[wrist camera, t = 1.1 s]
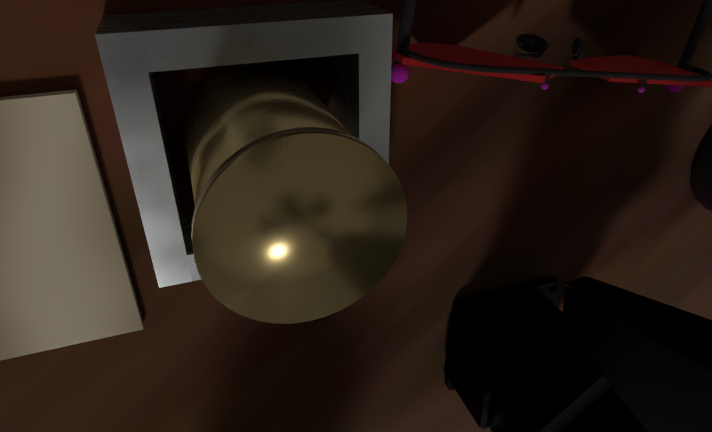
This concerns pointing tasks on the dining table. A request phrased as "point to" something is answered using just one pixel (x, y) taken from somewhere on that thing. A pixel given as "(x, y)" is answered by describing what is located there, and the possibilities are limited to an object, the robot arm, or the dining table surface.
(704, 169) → the bottle
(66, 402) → the dining table surface
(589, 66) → the glasses
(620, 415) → the robot arm
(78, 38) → the dining table surface
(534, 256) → the dining table surface
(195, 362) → the dining table surface
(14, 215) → the coaster
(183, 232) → the housing
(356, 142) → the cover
